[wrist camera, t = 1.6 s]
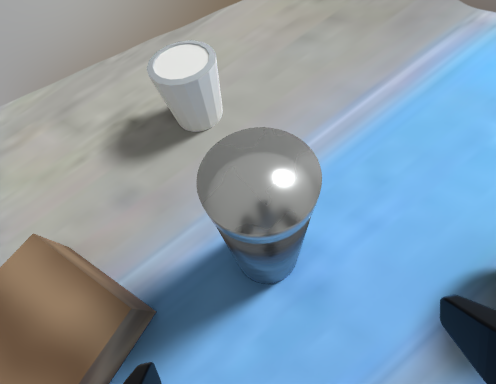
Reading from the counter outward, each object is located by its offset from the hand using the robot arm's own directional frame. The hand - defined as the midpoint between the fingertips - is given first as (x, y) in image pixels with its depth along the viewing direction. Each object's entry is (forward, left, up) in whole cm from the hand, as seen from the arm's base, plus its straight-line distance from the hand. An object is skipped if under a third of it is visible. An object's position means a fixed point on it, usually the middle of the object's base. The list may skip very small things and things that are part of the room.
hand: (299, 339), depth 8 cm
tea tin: (+5, +4, -12) cm, 14 cm away
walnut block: (-9, +15, -12) cm, 22 cm away
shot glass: (+16, +19, -13) cm, 28 cm away
